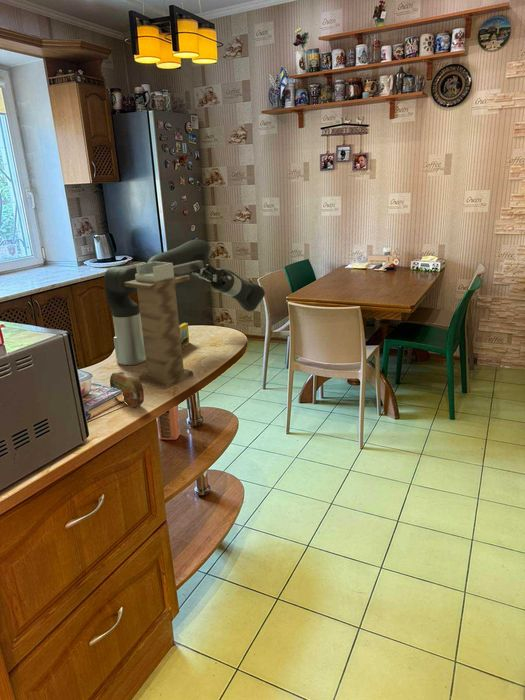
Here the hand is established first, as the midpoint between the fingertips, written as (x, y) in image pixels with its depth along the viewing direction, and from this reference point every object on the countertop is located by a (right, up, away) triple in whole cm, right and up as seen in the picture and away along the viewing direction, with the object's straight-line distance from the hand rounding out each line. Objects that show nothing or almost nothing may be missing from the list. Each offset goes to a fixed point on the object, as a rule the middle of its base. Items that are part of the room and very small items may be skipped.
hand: (196, 266), depth 160 cm
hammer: (-6, -4, -7) cm, 10 cm away
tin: (-17, -42, -18) cm, 49 cm away
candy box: (-10, -27, +24) cm, 38 cm away
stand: (-9, -36, -2) cm, 37 cm away
